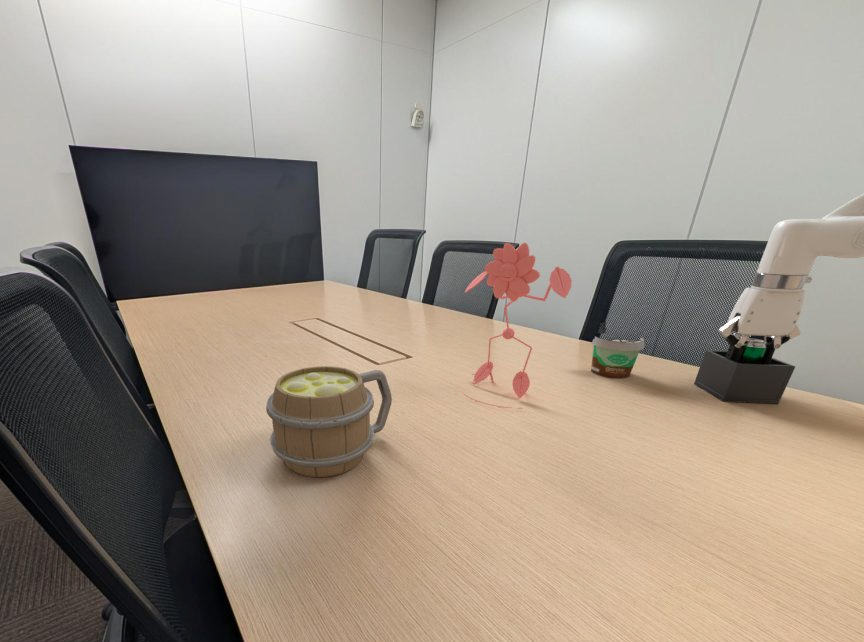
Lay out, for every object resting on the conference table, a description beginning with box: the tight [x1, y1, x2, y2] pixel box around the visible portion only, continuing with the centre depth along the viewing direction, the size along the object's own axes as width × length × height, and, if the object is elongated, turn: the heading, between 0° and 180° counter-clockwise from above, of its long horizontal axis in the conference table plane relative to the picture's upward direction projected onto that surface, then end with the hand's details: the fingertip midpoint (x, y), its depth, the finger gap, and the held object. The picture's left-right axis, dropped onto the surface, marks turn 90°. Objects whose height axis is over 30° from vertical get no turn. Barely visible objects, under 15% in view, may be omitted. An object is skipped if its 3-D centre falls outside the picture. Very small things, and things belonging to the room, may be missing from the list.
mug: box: [265, 365, 393, 478], centre depth 68 cm, size 19×25×15 cm
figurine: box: [463, 242, 572, 410], centre depth 86 cm, size 15×26×35 cm, turn 36°
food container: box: [590, 336, 645, 379], centre depth 100 cm, size 12×6×10 cm, turn 81°
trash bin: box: [694, 349, 796, 405], centre depth 87 cm, size 11×11×9 cm
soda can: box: [739, 337, 768, 364], centre depth 87 cm, size 5×5×12 cm
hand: (746, 362), depth 86 cm, fingers closed on soda can, 5 cm apart
